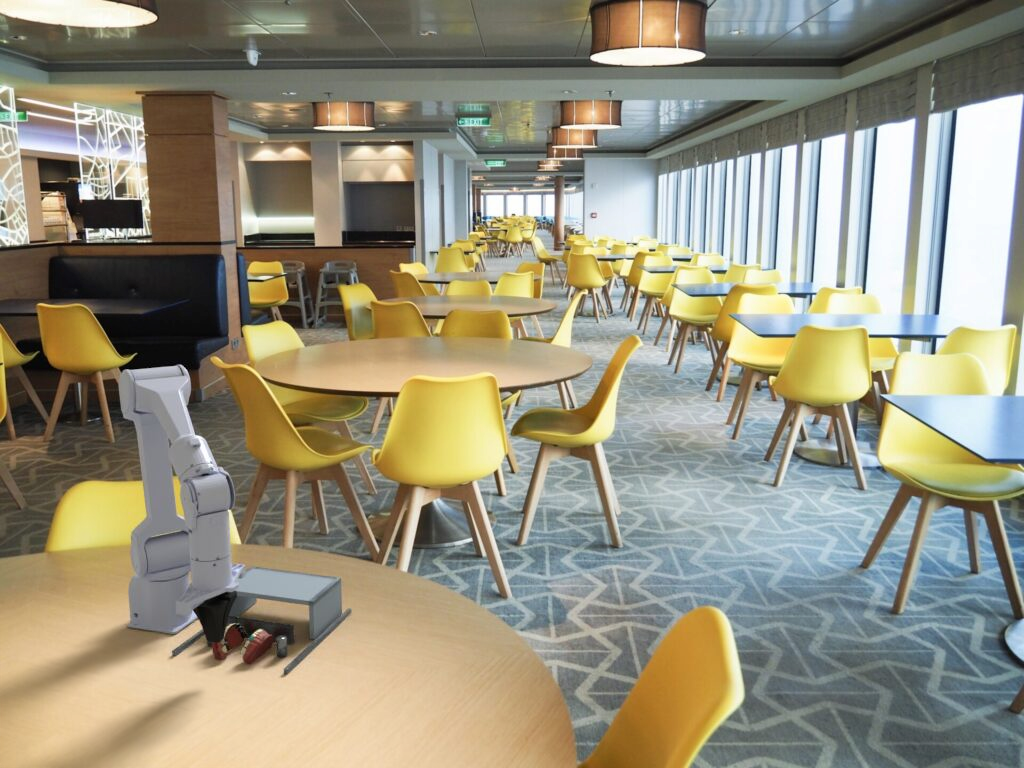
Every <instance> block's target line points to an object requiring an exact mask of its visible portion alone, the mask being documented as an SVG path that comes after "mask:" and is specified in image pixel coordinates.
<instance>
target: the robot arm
mask: <svg viewBox="0 0 1024 768" xmlns="http://www.w3.org/2000/svg"><path fill="white" fill-rule="evenodd" d="M118 392H119V393H118V394H119V403H120V410H121V413H122V416H123V417H122V418H123V419H126V420H129V421H133V424H134V427H135V431H136V437H137V447H138V455H139V464H140V472H141V481H142V488H143V489H142V490H143V498H144V504H145V505H144V507H145V514H146V517H145V518H144V519H143V520H142V521H141V522H139V524H137V525H136V526H135V527H134V529H132V531H131V532H130V533H131V534H130V552H129V553H130V555H129V556H130V562H131V565H132V566H131V567H132V568H133V569H132V570H133V571H134V573H133V575H132V576H131V578H130V580H129V583H128V605H129V608H128V609H129V618H130V622H127V628H133V629H138V630H139V629H140V630H144V631H150V632H151V631H153V632H156V633H158V632H159V633H165V634H170V635H171V634H172V635H175V634H177V633H179V632H180V631H182V630H183V629H184V628H186V627H188V626H189V625H190V624H191V623H193V622H195V621H196V620H197V619H198V621H199V623H200V625H201V627H202V629H203V631H204V634H205V635H204V636H205V640H206V642H207V641H210V642H216V643H219V642H220V641H221V640H223V638H224V634H225V629H226V625H227V620H228V616H229V613H230V610H231V608H232V605H233V603H234V601H235V599H236V598H237V591H235V590H236V589H238V588H239V584H238V583H236V581H237V579H238V578H239V579H242V578H244V577H245V576H246V575H245V570H246V565H245V564H242V563H240V564H239V563H232V550H231V548H232V546H231V527H230V512H229V510H230V511H232V510H233V509H234V507H235V504H236V492H235V486H234V482H233V480H232V478H231V476H230V473H229V472H228V471H227V470H224V468H223V467H222V466H218V464H217V462H216V460H215V457H214V455H213V453H212V451H211V449H210V445H209V444H208V441H207V440H206V439H205V438H204V437H203V436H201V435H196V433H195V430H194V429H195V428H194V425H193V423H192V419H191V416H190V413H189V410H188V407H187V406H188V405H189V400H190V396H191V392H192V383H191V377H190V374H189V372H188V369H186V367H184V365H182V364H176V365H173V366H172V365H171V366H160V367H159V366H158V367H151V368H149V367H147V368H138V369H123V371H122V372H121V373H120V375H119V379H118ZM169 441H170V443H171V445H170V443H169ZM172 466H173V467H172ZM173 470H174V472H175V474H176V477H177V480H178V481H179V485H180V493H179V496H180V504H181V507H182V511H183V516H182V515H179V514H178V512H177V501H176V495H175V494H176V493H175V485H174V484H175V483H174V479H173V478H174V477H173ZM190 577H191V578H190ZM190 580H191V581H190Z"/></svg>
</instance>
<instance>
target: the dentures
mask: <svg viewBox="0 0 1024 768" xmlns="http://www.w3.org/2000/svg"><path fill="white" fill-rule="evenodd" d="M243 630H244V628H243V627H241V626H240V624H235V623H234V624H230V625H228V626H226V629H225V634H224V638H223V640H221V641H220V642H219V643H216V642H212V647H211V649H212V654H213V658H214V660H216V661H217V660H218V661H219V660H222V659H224V658H226V657H227V656H228V655H229V652H230V651H231V650H234V648H235V649H236V648H237V647H238V646H241V645H242V644H243V643H244V642H245V644H243V645H244V646H243V647H242V648H241V650H240V655H241V656H242V660H243V664H246V665H248V666H252V664H253V663H255V662H256V661H257V660H258V659H260V658H261V657H262V656H263V655H265V653H267V652H268V651H270V650H271V648H272V647H273V644H274V642H273V641H274V636H273V635H271V634H268V633H267V632H266V631H264V630H263V629H259V630H257V631H256V632H254V633H253V634H252V637H249V639H248V638H247V636H248V635H247V634H246V632H245V631H243ZM242 631H243V632H242ZM246 639H248V640H246ZM245 640H246V641H245Z"/></svg>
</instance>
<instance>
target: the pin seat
mask: <svg viewBox="0 0 1024 768" xmlns="http://www.w3.org/2000/svg"><path fill="white" fill-rule="evenodd" d="M350 613H351V614H352V608H348V607H347V609H346V610H344V612H342V614H341V615H340V616H339V617H338V618H337V619H336V620H335V621H334V622H332V623H331V624H330V625H329V626H328V627H327V628H326V629H325V630H324V631H323V632H322V633H321V634H320V635H319V636H318V637H316V638H315V639H313V640H312V641H311V643H310V644H309V645H307V646H306V647H305V648H304V649H303V650H302V651H301V652H300V653H299V654H298V655H297V656H296V657H295V658H294V659H293V660H291V662H289V663H288V664H287V665H286V666H285V667H284V668H283V674H284V675H289V674H290V673H291V672H292V671H293V669H295V668H296V667H297V666H298V665H299V664H300V663H301V662H302V661H303V660H304V659H305V658H306V657H307V656H308V655H310V653H312V651H314V650H315V648H317V647H318V646H319V645H320V644H321V643H322V642H323V641H324V640H326V638H327V637H328V636H329V635H330V634H332V632H334V630H335V629H336V628H337V627H339V626H340V625H341V624H342V623H343V622H344V621H345V620H346V619H347V618H348V617H349V616H350V615H351V614H350ZM349 614H350V615H349ZM348 615H349V616H348ZM347 616H348V617H347ZM346 617H347V618H346ZM345 618H346V619H345ZM344 619H345V620H344ZM343 620H344V621H343ZM342 621H343V622H342ZM341 622H342V623H341ZM234 623H235V624H240V626H241V627H243V628H244V630H243V631H245V632H246V634H247V635H248V636H247V638H246V639H248V640H249V637H252V634H253V633H254V632H256V631H257V630H259V629H263V630H264V631H266V632H267V633H268V634H271V635H273V636H274V641H273V644H275V645H276V658H278V659H283V658H287V656H288V645H289V646H292V645H293V644H295V625H294V624H290V623H289V624H288V623H282V622H281V623H280V622H276V621H268V620H259V619H253V618H247V617H242V616H237V617H234V616H228V620H227V625H226V626H228V625H230V624H234ZM340 623H341V624H340ZM339 624H340V625H339ZM243 631H242V632H243ZM203 636H205V634H204V631H203V628H202V629H200V630H199V631H198V632H196V633H195V634H193V635H192V636H191V637H189V638H188V639H187V640H185V641H184V642H183V643H181V644H180V645H178V646H177V647H175V648H174V649H172V651H171V655H172V656H173V657H177V656H178V655H179V654H181V653H182V652H184V651H185V650H186V649H188V648H189V647H190V646H192V645H194V644H195V642H197V641H198V640H200V639H201V638H202V637H203ZM206 647H208V648H212V642H210V641H207V640H206Z"/></svg>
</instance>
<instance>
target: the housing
mask: <svg viewBox="0 0 1024 768" xmlns="http://www.w3.org/2000/svg"><path fill="white" fill-rule="evenodd" d="M245 575H246V576H245V577H244V578H242V579H239V578H238V579H237V581H236V583H238V584H239V588H238V589H236V590H235V591H237V598H236V599H235V601H234V603H233V605H232V608H231V610H230V613H229V616H234V617H239V616H240V615H242V613H244V612H245V611H246V610H248V609H249V608H251V606H253V605H254V604H256V603H257V599H259V600H266V601H275V602H281V603H289V604H293V605H294V604H295V605H302V606H308V612H309V613H308V614H309V615H308V617H309V639H311V640H315V639H316V638H317V637H318V636H319V635H320V634H321V633H323V632H324V631H325V630H326V629H327V628H328V627H329V626H330V625H331V624H332V623H333V622H334V621H335V620H336V619H337V618H339V617H340V616H341V615H342V614H343V597H342V596H343V594H342V578H341V577H337V576H330V575H329V576H328V575H321V574H313V573H306V572H298V571H289V570H282V569H275V568H268V567H267V568H266V567H259V566H258V567H257V566H250V567H248V568H246V569H245Z"/></svg>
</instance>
